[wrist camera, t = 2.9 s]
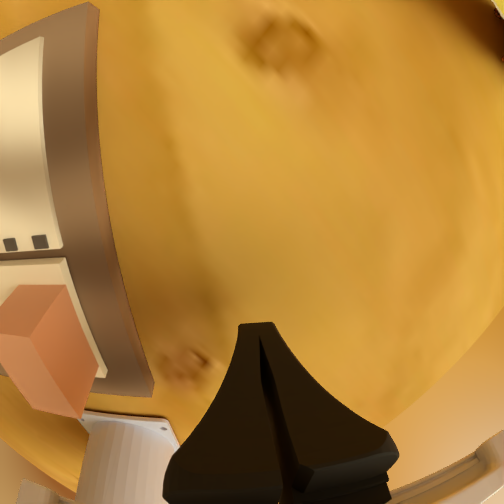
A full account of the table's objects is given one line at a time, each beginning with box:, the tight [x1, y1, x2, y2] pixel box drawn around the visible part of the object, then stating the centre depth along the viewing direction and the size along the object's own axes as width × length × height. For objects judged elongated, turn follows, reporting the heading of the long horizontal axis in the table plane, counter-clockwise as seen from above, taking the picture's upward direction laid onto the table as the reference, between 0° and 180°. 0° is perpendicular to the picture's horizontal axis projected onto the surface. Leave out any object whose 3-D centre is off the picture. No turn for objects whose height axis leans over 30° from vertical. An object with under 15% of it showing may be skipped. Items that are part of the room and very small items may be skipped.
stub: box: [0, 257, 108, 419], centre depth 10 cm, size 7×10×4 cm
